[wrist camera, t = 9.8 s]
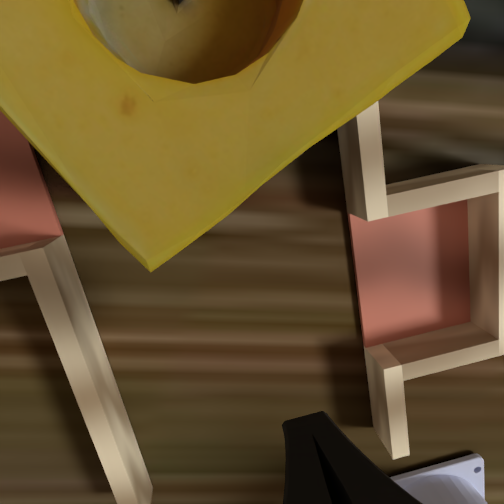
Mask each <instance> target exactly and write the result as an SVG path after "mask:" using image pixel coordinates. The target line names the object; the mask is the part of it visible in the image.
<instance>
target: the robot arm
mask: <svg viewBox="0 0 504 504" xmlns="http://www.w3.org/2000/svg"><path fill="white" fill-rule="evenodd" d="M282 428H283V432H284V437H285V450H286V468H285V489H284V499H283V504H487V502H486V501H485V498H484V460H483V458H482V457H481V456H480V455H479V454H471V455H468V456H464V457H460V458H457V459H453V460H450V461H446V462H443V463H439V464H436V465H432V466H428V467H425V468H421V469H418V470H414V471H411V472H407V473H404V474H400V475H396V476H393V477H388V476H387V475H386V474H385V473H384V472H383V471H382V470H380V469H379V468H378V467H377V466H376V465H375V464H374V463H373V462H372V461H371V460H370V459H369V458H367V457H366V456H365V455H364V454H363V453H362V452H361V451H360V450H359V449H358V448H357V447H356V446H355V445H354V444H353V443H352V442H351V441H350V440H349V439H348V438H347V437H346V435H345V434H344V433H343V432H342V431H341V430H340V429H339V428H338V427H337V425H336V424H335V423H334V422H333V421H332V420H331V418H330V417H329V416H328V414H327V413H325V412H324V411H321V412H317V413H313V414H309V415H306V416H302V417H298V418H295V419H291V420H287V421H285V422H284V423H283V424H282Z"/></svg>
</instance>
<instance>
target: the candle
mask: <svg viewBox="0 0 504 504" xmlns="http://www.w3.org/2000/svg"><path fill="white" fill-rule="evenodd" d="M469 21H470V15H469V12H468V10H467V7H466V5H465V2H464V0H0V111H1V112H2V113H3V114H4V115H5V116H6V117H7V119H8V120H9V121H10V122H11V123H12V124H13V125H14V126H15V127H16V128H17V129H18V130H19V131H20V133H21V134H22V135H23V136H24V137H25V138H26V139H27V140H28V141H29V142H30V143H31V144H32V146H33V147H34V148H35V149H36V150H37V151H38V152H39V153H40V154H41V155H42V156H43V157H44V158H45V160H46V161H47V162H48V163H49V164H50V165H51V166H52V167H53V168H54V169H55V170H56V171H57V172H58V174H59V175H60V176H61V177H62V178H63V179H64V180H65V181H66V182H67V183H68V184H69V185H70V186H71V187H72V189H73V190H74V191H75V192H76V193H77V194H78V195H79V196H80V197H81V198H82V199H83V200H84V201H85V202H86V203H87V205H88V206H89V207H90V208H91V209H92V210H93V211H94V212H95V214H96V215H97V216H98V217H99V218H100V220H101V221H102V222H103V223H104V224H105V226H106V227H107V228H108V229H109V231H110V232H111V233H112V234H113V235H114V237H115V238H116V239H117V240H118V241H119V243H120V244H121V245H122V246H124V247H125V248H126V249H127V250H128V251H129V252H130V253H131V254H132V255H133V256H134V257H135V258H136V259H137V260H138V261H139V262H140V263H141V264H142V265H143V266H144V267H146V268H147V269H148V270H149V271H150V272H152V271H153V270H155V269H156V268H157V267H159V266H160V265H162V264H163V263H164V262H166V261H167V260H169V259H170V258H171V257H173V256H174V255H175V254H177V253H178V252H180V251H181V250H182V249H184V248H185V247H186V246H188V245H189V244H190V243H192V242H193V241H194V240H196V239H197V238H198V237H200V236H201V235H202V234H204V233H205V232H206V231H208V230H209V229H210V228H212V227H213V226H214V225H216V224H217V223H218V222H220V221H221V220H222V219H224V218H225V217H226V216H228V215H229V214H230V213H231V212H232V211H233V210H235V209H236V208H237V207H238V206H239V205H240V204H241V203H242V202H243V201H245V200H246V199H247V198H248V197H249V196H250V195H251V194H252V193H254V192H255V191H256V190H257V189H258V188H259V187H260V186H261V185H263V184H264V183H265V182H266V181H268V180H269V179H270V178H272V177H273V176H274V175H275V174H277V173H278V172H279V171H280V170H282V169H283V168H284V167H286V166H287V165H288V164H289V163H291V162H292V161H293V160H294V159H296V158H297V157H299V156H300V155H301V154H303V153H304V152H305V151H306V150H307V149H308V148H310V147H311V146H313V145H314V144H316V143H317V142H319V141H320V140H321V139H323V138H324V137H326V136H327V135H329V134H330V133H332V132H333V131H335V130H336V129H338V128H339V127H341V126H342V125H343V124H345V123H346V122H348V121H349V120H351V119H352V118H354V117H355V116H357V115H358V114H360V113H361V112H363V111H364V110H366V109H367V108H369V107H370V106H371V105H373V104H374V103H376V102H377V101H378V100H379V99H381V98H382V97H383V96H384V95H386V94H387V93H388V92H390V91H391V90H392V89H393V88H395V87H396V86H397V85H399V84H400V83H402V82H403V81H404V80H406V79H407V78H408V77H410V76H411V75H413V74H414V73H415V72H417V71H418V70H419V69H421V68H422V67H424V66H425V65H426V64H428V63H429V62H430V61H432V60H433V59H435V58H436V57H437V56H438V55H440V54H441V53H442V52H444V51H445V50H446V49H448V48H449V47H450V46H452V45H453V44H454V43H456V42H457V41H458V40H459V39H461V38H462V37H463V34H464V32H465V30H466V28H467V25H468V23H469Z"/></svg>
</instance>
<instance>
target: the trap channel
mask: <svg viewBox="0 0 504 504" xmlns="http://www.w3.org/2000/svg"><path fill="white" fill-rule="evenodd" d="M337 132H338V140H339V148H340V156H341V165H342V173H343V181H344V189H345V197H346V206H347V214H348V222H349V230H350V239H351V247H352V255H353V263H354V271H355V280H356V288H357V296H358V304H359V312H360V321H361V329H362V337H363V345H364V354H365V362H366V370H367V378H368V386H369V395H370V403H371V411H372V419H373V427H374V430H375V431H376V433H377V434H378V436H379V438H380V439H381V441H382V442H383V444H384V446H385V447H386V449H387V450H388V452H389V454H390V455H391V457H392V459H397V458H400V457H404V456H407V455H410V452H409V441H408V430H407V419H406V408H405V397H404V385H403V381H405V380H409V379H413V378H416V377H420V376H424V375H428V374H432V373H435V372H439V371H443V370H447V369H451V368H455V367H458V366H462V365H466V364H470V363H474V362H478V361H481V360H485V359H489V358H493V357H497V356H501V355H504V165H487V164H478V165H474V166H469V167H465V168H460V169H455V170H451V171H446V172H442V173H437V174H433V175H428V176H424V177H419V178H414V179H410V180H405V181H401V182H396V183H392V184H387V185H386V184H385V173H384V162H383V151H382V140H381V129H380V117H379V106H378V101H377V102H376V103H374V104H373V105H371V106H370V107H369V108H367V109H366V110H364V111H363V112H361V113H360V114H358V115H357V116H355V117H354V118H352V119H351V120H349V121H348V122H346V123H345V124H343V125H342V126H341V127H339V128H338V129H337ZM26 275H27V276H28V278H29V281H30V283H31V286H32V289H33V291H34V294H35V296H36V299H37V301H38V304H39V306H40V309H41V311H42V314H43V316H44V319H45V321H46V324H47V327H48V329H49V332H50V334H51V337H52V339H53V342H54V344H55V347H56V349H57V352H58V354H59V357H60V359H61V362H62V365H63V367H64V370H65V372H66V375H67V377H68V380H69V382H70V385H71V387H72V390H73V392H74V395H75V397H76V400H77V403H78V405H79V408H80V410H81V413H82V415H83V418H84V420H85V423H86V425H87V428H88V430H89V433H90V436H91V438H92V441H93V443H94V446H95V448H96V451H97V453H98V456H99V458H100V461H101V463H102V466H103V468H104V471H105V474H106V476H107V479H108V481H109V484H110V486H111V489H112V491H113V494H114V496H115V499H116V501H117V504H151V498H152V490H153V486H152V484H151V481H150V478H149V475H148V472H147V469H146V467H145V464H144V461H143V458H142V455H141V452H140V450H139V447H138V444H137V441H136V438H135V435H134V433H133V430H132V427H131V424H130V421H129V418H128V415H127V413H126V410H125V407H124V404H123V401H122V398H121V396H120V393H119V390H118V387H117V384H116V381H115V379H114V376H113V373H112V370H111V367H110V364H109V362H108V359H107V356H106V353H105V350H104V347H103V344H102V342H101V339H100V336H99V333H98V330H97V327H96V325H95V322H94V319H93V316H92V313H91V310H90V308H89V305H88V302H87V299H86V296H85V293H84V291H83V288H82V285H81V282H80V279H79V276H78V274H77V271H76V268H75V265H74V262H73V259H72V256H71V254H70V251H69V248H68V245H67V242H66V239H65V237H64V234H63V231H62V228H61V225H60V222H59V220H58V217H57V214H56V211H55V208H54V205H53V203H52V200H51V197H50V194H49V191H48V188H47V185H46V183H45V180H44V177H43V174H42V171H41V168H40V166H39V163H38V160H37V157H36V154H35V151H34V149H33V146H32V144H31V143H30V142H29V141H28V140H27V139H26V138H25V137H24V136H23V135H22V134H21V133H20V131H19V130H18V129H17V128H16V127H15V126H14V125H13V124H12V123H11V122H10V121H9V120H8V119H7V117H6V116H5V115H4V114H3V113H2V112H1V111H0V281H4V280H8V279H13V278H17V277H22V276H26Z"/></svg>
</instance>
